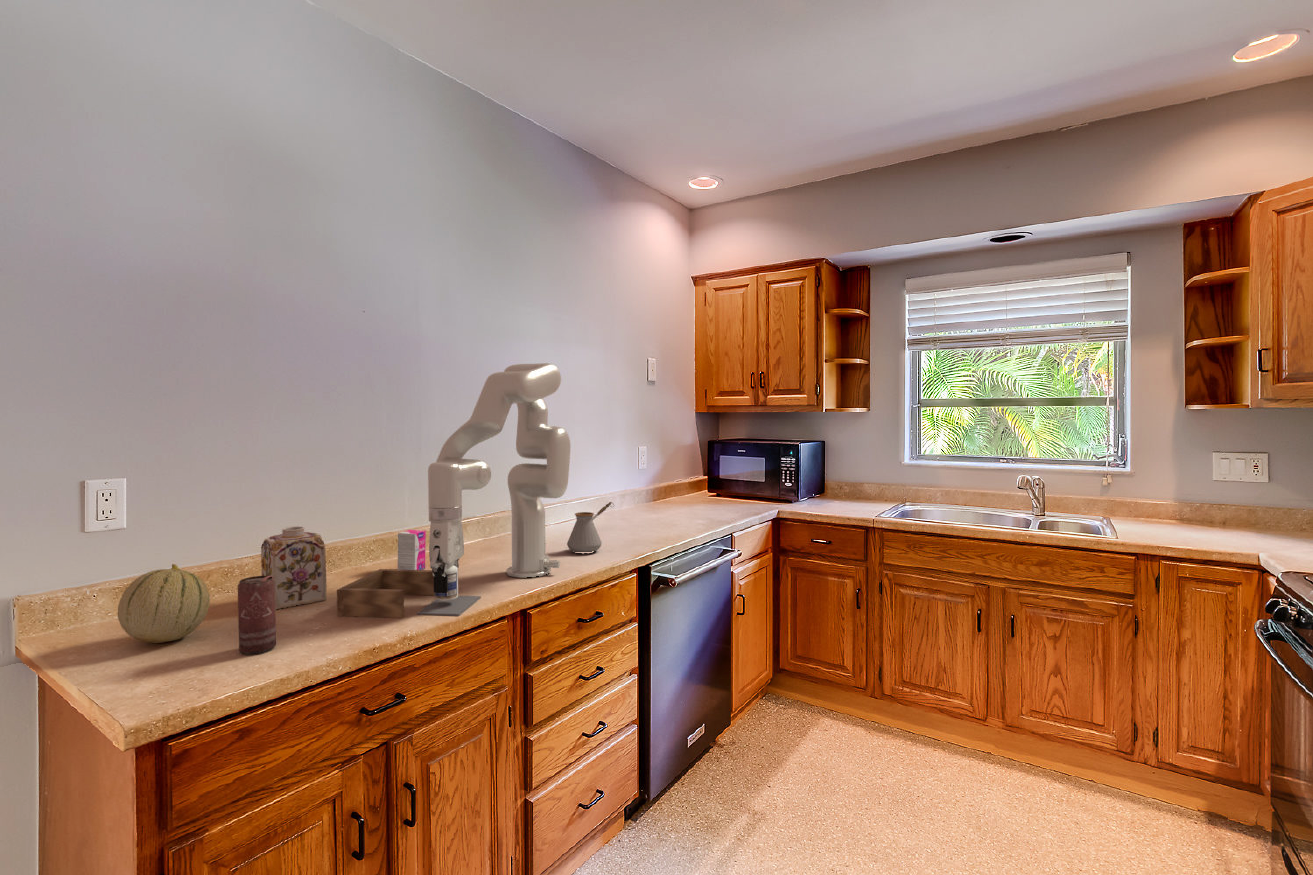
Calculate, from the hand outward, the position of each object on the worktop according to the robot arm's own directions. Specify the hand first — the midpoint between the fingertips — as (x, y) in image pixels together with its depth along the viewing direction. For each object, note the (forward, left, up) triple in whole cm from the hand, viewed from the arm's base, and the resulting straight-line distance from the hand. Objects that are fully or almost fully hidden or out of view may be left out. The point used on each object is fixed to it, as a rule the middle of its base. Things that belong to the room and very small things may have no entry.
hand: (446, 588), depth 150 cm
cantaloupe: (+47, +27, -4) cm, 54 cm away
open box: (+14, 0, -4) cm, 15 cm away
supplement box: (+24, -32, -4) cm, 40 cm away
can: (+25, +30, -4) cm, 39 cm away
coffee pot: (-24, -65, -4) cm, 69 cm away
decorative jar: (+39, -1, -4) cm, 39 cm away
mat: (-1, 0, -4) cm, 4 cm away
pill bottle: (0, 0, -3) cm, 3 cm away
